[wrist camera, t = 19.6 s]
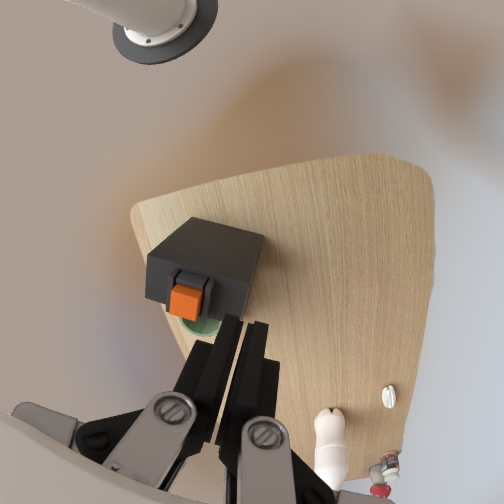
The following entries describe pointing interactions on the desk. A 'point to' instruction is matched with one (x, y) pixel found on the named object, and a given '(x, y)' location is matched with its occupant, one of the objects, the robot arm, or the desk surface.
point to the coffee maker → (205, 266)
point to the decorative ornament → (378, 482)
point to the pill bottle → (390, 466)
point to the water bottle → (331, 448)
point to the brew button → (186, 301)
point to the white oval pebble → (389, 397)
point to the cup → (201, 326)
